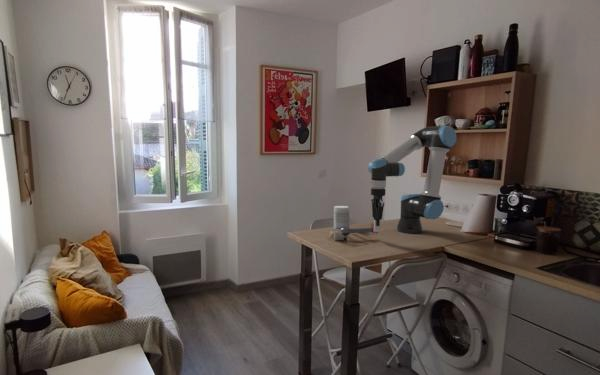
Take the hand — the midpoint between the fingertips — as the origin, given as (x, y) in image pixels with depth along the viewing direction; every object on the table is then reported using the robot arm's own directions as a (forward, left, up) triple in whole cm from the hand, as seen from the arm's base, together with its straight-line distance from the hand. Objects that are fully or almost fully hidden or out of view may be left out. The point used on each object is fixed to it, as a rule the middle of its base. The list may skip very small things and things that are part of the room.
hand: (376, 231), depth 188 cm
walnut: (+17, -15, -5) cm, 23 cm away
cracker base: (+10, -7, -6) cm, 13 cm away
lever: (+9, -7, -5) cm, 12 cm away
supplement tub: (-2, -33, -7) cm, 34 cm away
